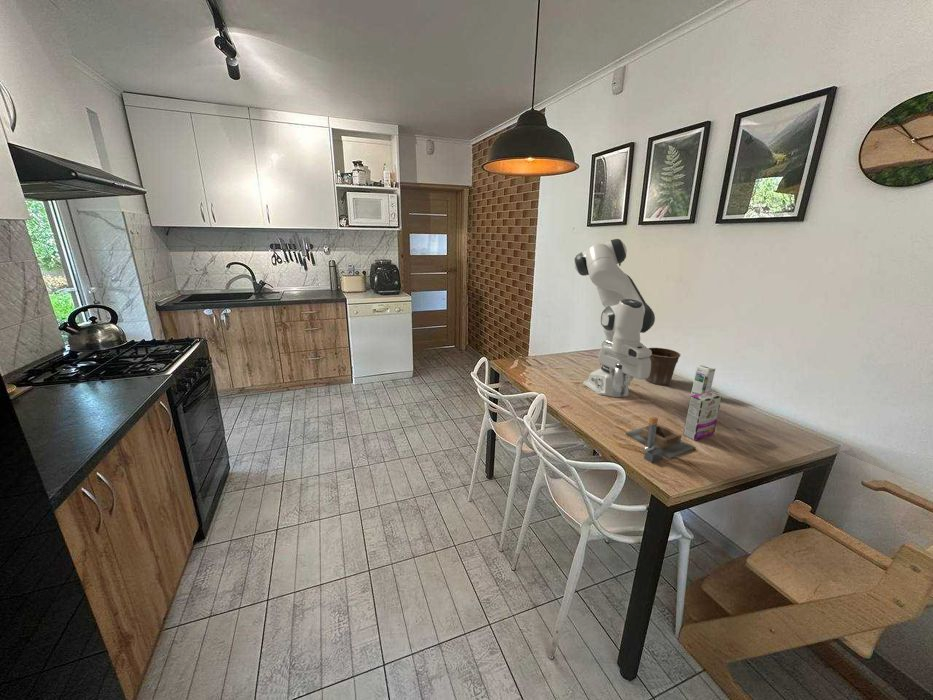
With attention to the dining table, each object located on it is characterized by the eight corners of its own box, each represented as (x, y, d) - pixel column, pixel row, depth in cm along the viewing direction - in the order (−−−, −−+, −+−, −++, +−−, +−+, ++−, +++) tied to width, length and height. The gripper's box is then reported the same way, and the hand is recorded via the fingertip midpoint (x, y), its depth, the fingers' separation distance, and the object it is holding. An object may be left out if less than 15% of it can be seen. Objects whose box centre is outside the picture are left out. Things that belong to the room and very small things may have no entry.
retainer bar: (646, 445, 123) (649, 418, 121) (651, 443, 124) (654, 416, 122) (649, 447, 122) (652, 419, 120) (654, 445, 123) (657, 418, 121)
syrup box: (690, 394, 176) (696, 366, 172) (697, 392, 179) (703, 364, 174) (702, 398, 171) (708, 369, 167) (709, 396, 174) (716, 367, 170)
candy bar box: (701, 429, 143) (710, 390, 139) (713, 435, 139) (723, 395, 134) (681, 434, 139) (690, 395, 134) (694, 441, 135) (703, 400, 130)
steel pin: (608, 393, 135) (613, 362, 131) (617, 391, 137) (621, 361, 133) (618, 397, 131) (623, 366, 128) (626, 395, 133) (631, 364, 130)
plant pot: (674, 389, 181) (680, 358, 177) (639, 383, 189) (644, 353, 184) (675, 379, 195) (680, 350, 190) (642, 373, 203) (646, 345, 198)
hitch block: (625, 434, 139) (627, 424, 137) (650, 426, 145) (652, 417, 143) (669, 459, 123) (671, 448, 122) (695, 449, 129) (697, 439, 128)
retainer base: (641, 457, 124) (643, 447, 123) (651, 453, 126) (653, 443, 125) (651, 463, 121) (653, 453, 120) (661, 459, 123) (663, 449, 122)
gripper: (596, 339, 136) (592, 374, 140) (643, 355, 119) (637, 394, 123) (608, 338, 139) (604, 372, 143) (656, 352, 121) (649, 391, 125)
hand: (619, 382), depth 133 cm, fingers closed on steel pin, 4 cm apart
